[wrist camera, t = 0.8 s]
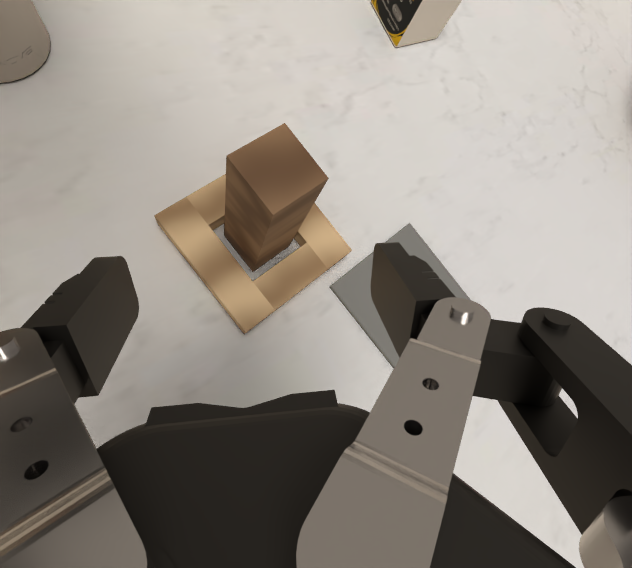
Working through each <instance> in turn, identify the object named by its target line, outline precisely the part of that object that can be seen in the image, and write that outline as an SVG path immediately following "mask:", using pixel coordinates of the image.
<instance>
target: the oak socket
mask: <svg viewBox="0 0 632 568" xmlns="http://www.w3.org/2000/svg"><path fill="white" fill-rule="evenodd" d="M225 191H226V174H225V175H223V176H221V177H220V178H218V179H216V180H215V181H213V182H211V183H209V184H208V185H206V186H204V187H202V188H201V189H199V190H197V191H196V192H194V193H192V194H190V195H189V196H187V197H185V198H184V199H182V200H180V201H178V202H177V203H175V204H173V205H171V206H170V207H168V208H166V209H165V210H163V211H161V212H159V213H158V214H156V215H154V216H155V219H156V221H157V223H158V225H159V226H160V227H161V229H162V230H163V231H164V232H165V234H166V235H167V236H168V237H169V239H170V240H171V241H172V243H173V244H174V245H175V246H176V248H177V249H178V250H179V252H180V253H181V254H182V255H183V257H184V258H185V259H186V260H187V262H188V263H189V264H190V266H191V267H192V268H193V269H194V271H195V272H196V273H197V275H198V276H199V277H200V278H201V280H202V281H203V282H204V283H205V285H206V286H207V287H208V289H209V290H210V291H211V292H212V294H213V295H214V296H215V297H216V299H217V300H218V301H219V303H220V304H221V305H222V306H223V308H224V309H225V310H226V312H227V313H228V314H229V315H230V317H231V318H232V319H233V320H234V322H235V323H236V324H237V326H238V327H239V328H240V329H241V331H242V332H243V333H244V334H245V333H247V332H248V331H249V330H251V329H252V328H253V327H254V326H256V325H257V324H258V323H260V322H261V321H262V320H264V319H265V318H266V317H267V316H269V315H270V314H271V313H273V312H274V311H275V310H276V309H278V308H279V307H280V306H282V305H283V304H284V303H285V302H287V301H288V300H289V299H291V298H292V297H293V296H294V295H296V294H297V293H298V292H300V291H301V290H302V289H303V288H305V287H306V286H307V285H309V284H310V283H311V282H313V281H314V280H315V279H316V278H318V277H319V276H320V275H322V274H323V273H324V272H325V271H327V270H328V269H329V268H331V267H332V266H333V265H334V264H336V263H337V262H338V261H340V260H341V259H342V258H343V257H345V256H346V255H347V254H348V253H349V252H351V251H352V250H351V248H350V247H349V246H348V245H347V243H346V242H345V241H344V240H343V238H342V237H341V236H340V235H339V233H338V232H337V231H336V230H335V228H334V227H333V226H332V224H331V223H330V222H329V221H328V219H327V218H326V217H325V216H324V214H323V213H322V212H321V211H320V209H319V208H318V207H317V205H316V204H315V203H314V204H313V206H312V208H311V209H310V211H309V213H308V214H307V216H306V218H305V220H304V221H303V223H302V225H301V226H300V228H299V230H298V231H297V233H296V235H295V237H294V239H295V240H296V241H297V242H298V244H299V245H300V246H301V247H300V248H299V249H297V250H296V251H294V252H293V253H292V254H290V255H289V256H287V257H286V258H285V259H283V260H282V261H281V262H279V263H278V264H276V265H275V266H274V267H272V268H271V269H270V270H268V271H267V272H265V273H264V274H263V275H261V276H260V277H258V278H257V279H256V280H254V281H252V280H251V279H250V277H249V276H248V275H247V274H246V272H245V271H244V270H243V269H242V267H241V266H240V265H239V263H238V262H237V261H236V260H235V258H234V257H233V256H232V255H231V253H230V252H229V251H228V249H227V248H226V247H225V246H224V244H223V243H222V242H221V241H220V239H219V238H218V237H217V235H216V234H215V233H214V232H213V230H214V229H216V228H217V227H219V226H220V225H222V224H224V223H225Z"/></svg>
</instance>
